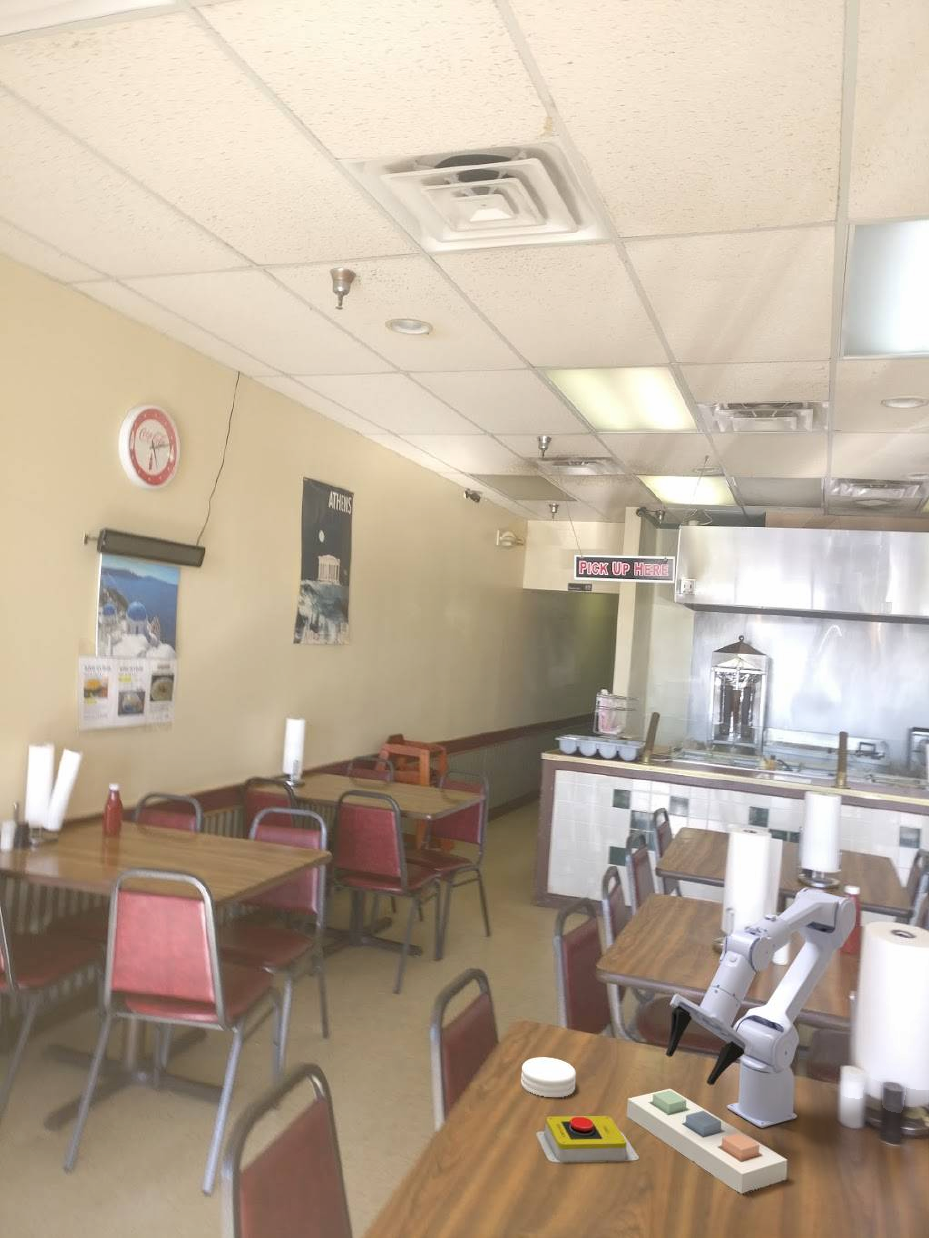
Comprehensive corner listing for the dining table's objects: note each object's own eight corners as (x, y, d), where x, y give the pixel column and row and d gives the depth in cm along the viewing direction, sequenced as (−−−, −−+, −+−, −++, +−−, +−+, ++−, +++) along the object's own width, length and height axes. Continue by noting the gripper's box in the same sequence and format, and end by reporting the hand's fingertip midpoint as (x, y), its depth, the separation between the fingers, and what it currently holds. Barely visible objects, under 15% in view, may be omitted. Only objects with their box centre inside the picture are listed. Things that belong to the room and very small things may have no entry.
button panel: (669, 1105, 169) (670, 1088, 170) (786, 1179, 147) (787, 1159, 147) (626, 1116, 164) (627, 1098, 164) (741, 1194, 142) (742, 1173, 142)
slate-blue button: (702, 1128, 159) (703, 1110, 159) (720, 1139, 155) (721, 1121, 155) (685, 1133, 156) (686, 1115, 157) (702, 1145, 153) (703, 1126, 153)
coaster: (515, 1092, 171) (516, 1073, 171) (527, 1070, 180) (528, 1052, 180) (569, 1104, 168) (570, 1084, 168) (579, 1081, 177) (580, 1062, 177)
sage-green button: (669, 1107, 165) (670, 1090, 165) (685, 1117, 162) (686, 1100, 162) (651, 1111, 163) (652, 1094, 163) (668, 1122, 160) (669, 1104, 160)
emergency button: (536, 1108, 157) (622, 1107, 159) (534, 1135, 156) (620, 1134, 159) (551, 1137, 147) (642, 1135, 150) (549, 1166, 147) (640, 1164, 150)
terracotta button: (738, 1151, 152) (739, 1132, 152) (758, 1164, 148) (759, 1144, 148) (721, 1157, 150) (722, 1137, 150) (740, 1169, 146) (741, 1150, 146)
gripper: (693, 968, 160) (656, 1041, 154) (771, 1019, 157) (736, 1095, 151) (682, 973, 166) (646, 1044, 160) (756, 1023, 163) (723, 1096, 157)
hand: (689, 1069), depth 156 cm, fingers open, 7 cm apart
